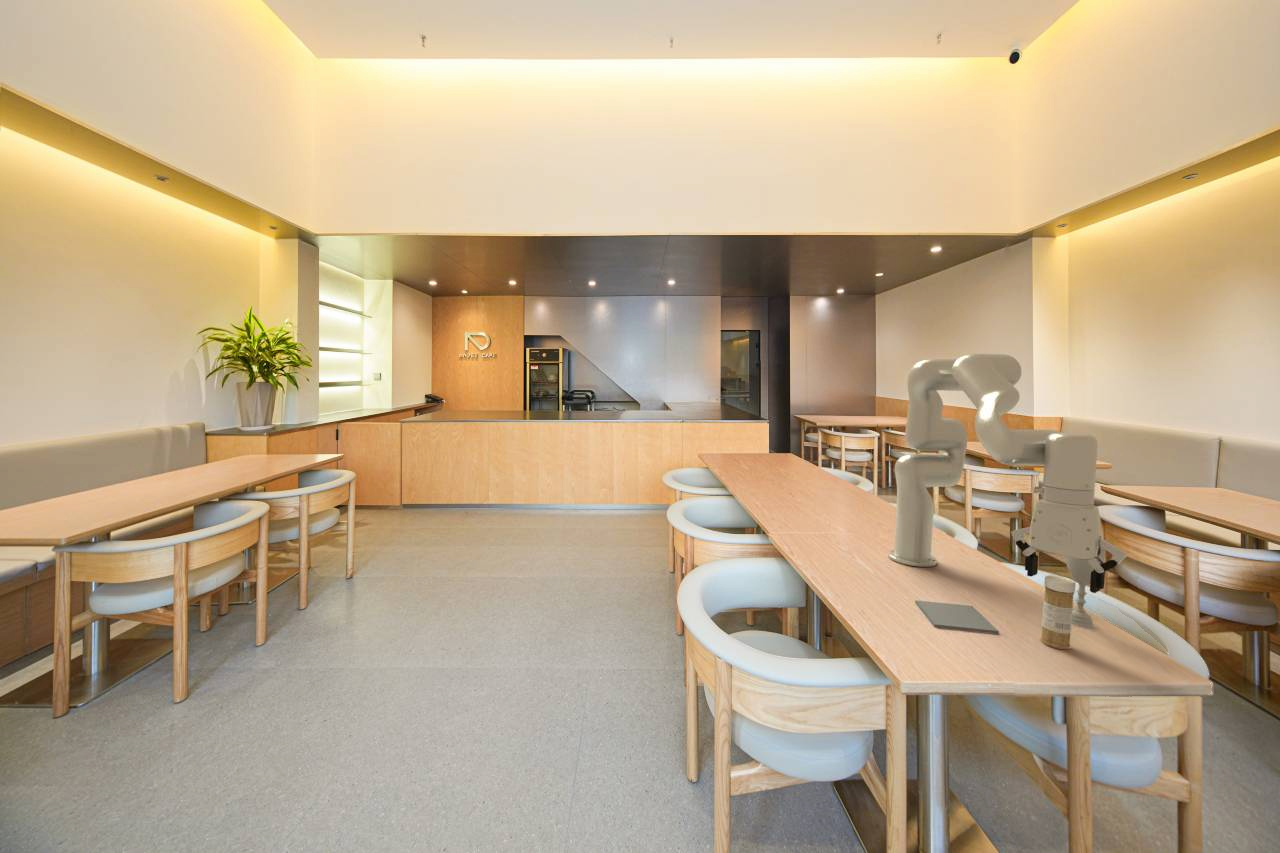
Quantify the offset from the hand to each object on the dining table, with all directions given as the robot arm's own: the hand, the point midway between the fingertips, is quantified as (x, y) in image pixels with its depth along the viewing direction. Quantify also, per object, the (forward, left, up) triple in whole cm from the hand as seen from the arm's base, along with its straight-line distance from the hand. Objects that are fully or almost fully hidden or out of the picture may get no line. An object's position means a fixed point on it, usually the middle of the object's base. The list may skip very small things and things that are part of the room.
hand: (1062, 582), depth 95 cm
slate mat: (-9, -15, -13) cm, 22 cm away
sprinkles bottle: (-1, 0, -13) cm, 13 cm away
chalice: (-13, +11, -13) cm, 21 cm away
